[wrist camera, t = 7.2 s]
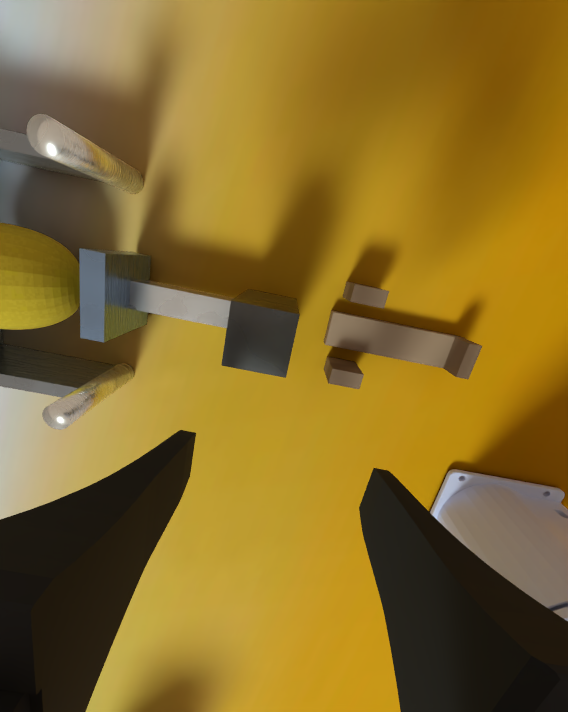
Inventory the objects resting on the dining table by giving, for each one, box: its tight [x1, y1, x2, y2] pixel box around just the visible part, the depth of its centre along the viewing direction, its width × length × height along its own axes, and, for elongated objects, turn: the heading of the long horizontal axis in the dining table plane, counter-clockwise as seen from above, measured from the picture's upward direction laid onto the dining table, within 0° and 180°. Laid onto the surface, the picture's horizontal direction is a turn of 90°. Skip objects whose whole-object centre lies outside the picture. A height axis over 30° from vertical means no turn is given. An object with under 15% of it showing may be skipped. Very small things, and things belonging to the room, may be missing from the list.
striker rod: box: [79, 248, 300, 378], centre depth 16 cm, size 11×4×7 cm, turn 79°
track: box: [324, 282, 482, 389], centre depth 19 cm, size 9×6×2 cm
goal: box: [0, 114, 143, 429], centre depth 16 cm, size 10×14×6 cm
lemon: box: [0, 223, 80, 330], centre depth 16 cm, size 6×6×8 cm
